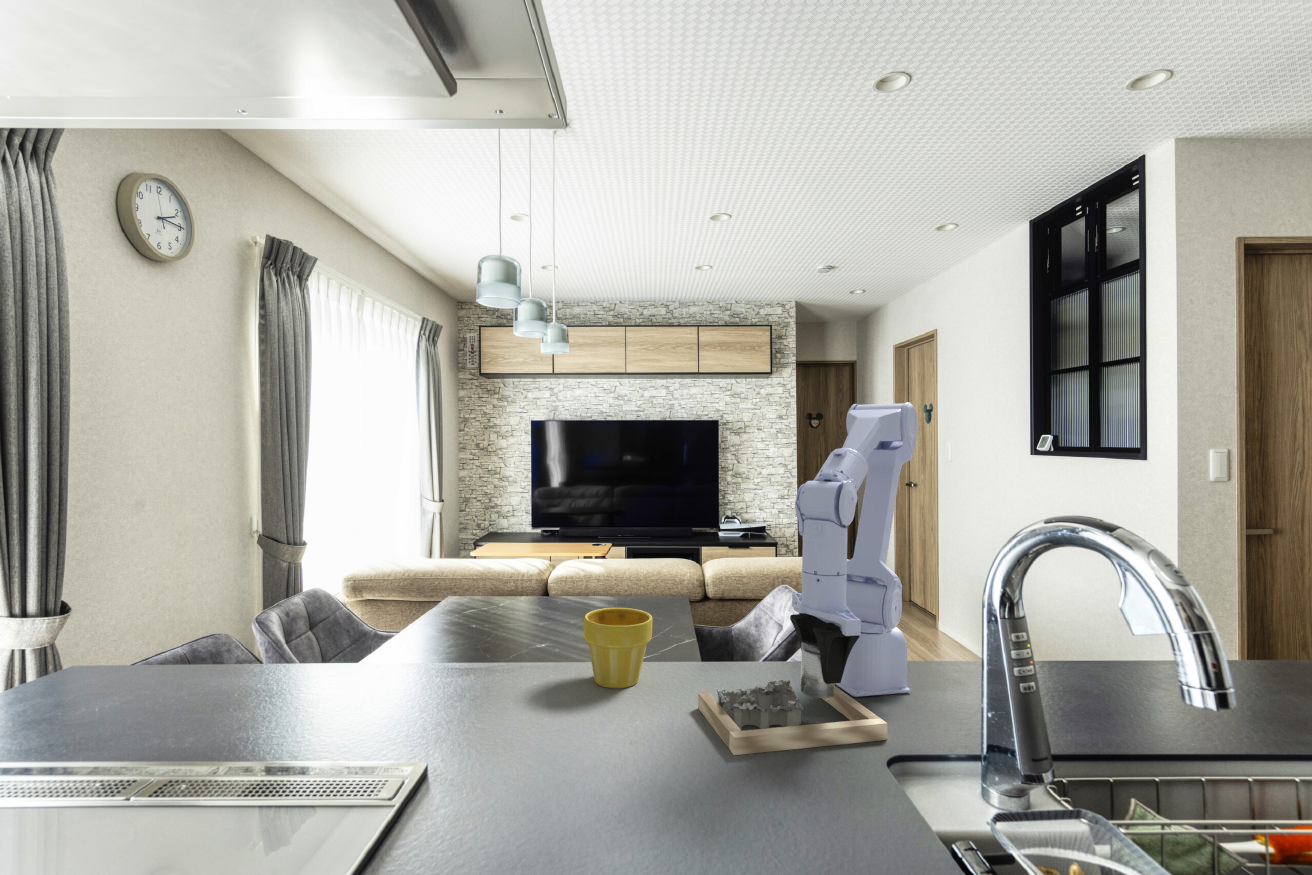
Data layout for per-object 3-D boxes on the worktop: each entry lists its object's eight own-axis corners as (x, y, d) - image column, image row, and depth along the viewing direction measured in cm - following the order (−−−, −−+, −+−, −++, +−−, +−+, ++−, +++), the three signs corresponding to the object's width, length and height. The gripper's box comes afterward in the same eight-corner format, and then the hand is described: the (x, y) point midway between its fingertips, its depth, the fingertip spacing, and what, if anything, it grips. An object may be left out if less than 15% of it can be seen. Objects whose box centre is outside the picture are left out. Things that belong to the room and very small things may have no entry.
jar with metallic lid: (828, 685, 85) (830, 640, 85) (840, 698, 80) (842, 650, 80) (795, 684, 84) (797, 638, 85) (804, 697, 80) (807, 649, 80)
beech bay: (831, 697, 90) (831, 683, 90) (887, 739, 77) (887, 723, 77) (698, 707, 85) (698, 693, 85) (733, 755, 72) (734, 737, 72)
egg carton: (792, 709, 86) (793, 679, 86) (805, 733, 79) (806, 700, 79) (715, 706, 86) (716, 676, 86) (720, 730, 79) (721, 698, 79)
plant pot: (650, 694, 89) (651, 625, 90) (577, 692, 90) (579, 624, 90) (652, 669, 100) (653, 607, 100) (587, 667, 100) (588, 606, 100)
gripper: (773, 562, 89) (771, 659, 89) (824, 584, 75) (822, 698, 75) (818, 561, 91) (816, 656, 90) (876, 582, 77) (875, 694, 76)
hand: (822, 675), depth 83 cm, fingers closed on jar with metallic lid, 4 cm apart
